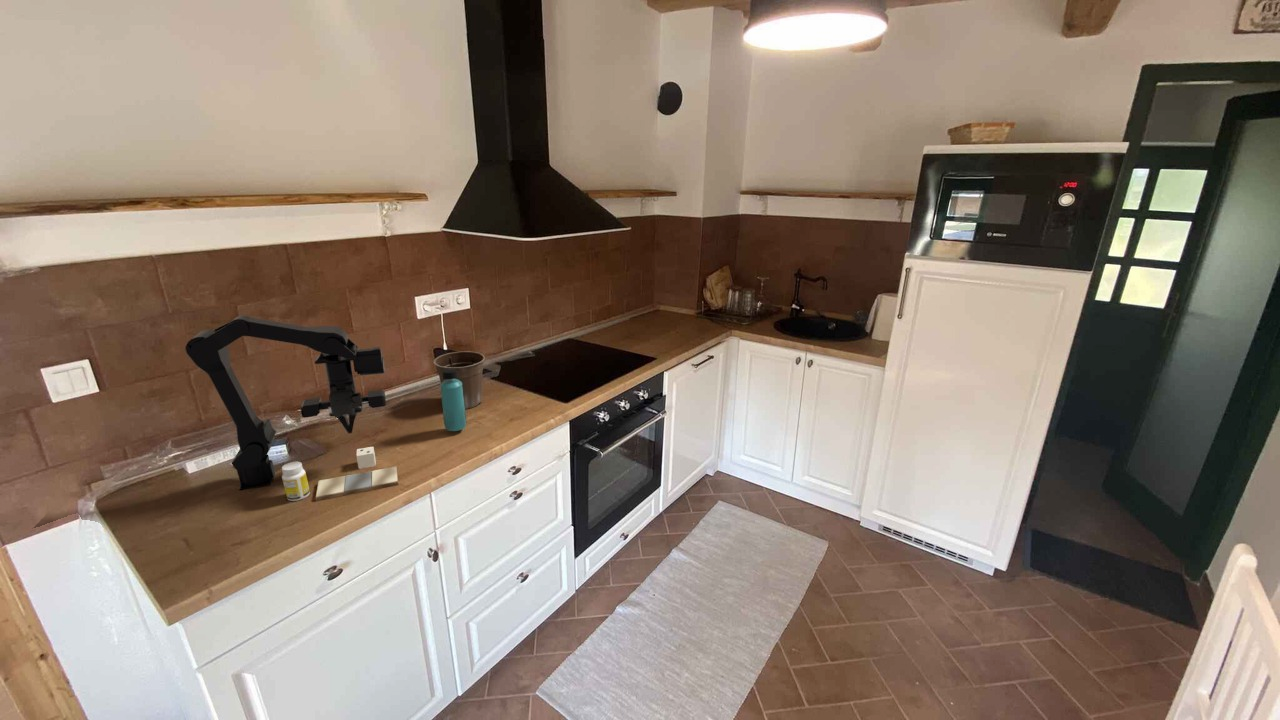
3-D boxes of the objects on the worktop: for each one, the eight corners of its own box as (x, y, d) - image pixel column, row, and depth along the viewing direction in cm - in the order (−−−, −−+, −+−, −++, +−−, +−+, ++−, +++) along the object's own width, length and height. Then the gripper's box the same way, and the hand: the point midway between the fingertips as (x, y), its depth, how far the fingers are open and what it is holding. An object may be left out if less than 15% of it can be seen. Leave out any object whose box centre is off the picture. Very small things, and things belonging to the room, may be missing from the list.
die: (358, 469, 139) (356, 455, 137) (359, 462, 142) (356, 449, 141) (375, 466, 140) (373, 453, 139) (375, 459, 144) (373, 446, 142)
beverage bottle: (471, 431, 161) (465, 370, 154) (451, 438, 156) (444, 375, 149) (460, 424, 165) (454, 364, 158) (440, 430, 160) (433, 369, 154)
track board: (316, 500, 125) (315, 497, 124) (319, 483, 131) (318, 480, 131) (398, 484, 132) (397, 481, 132) (397, 469, 139) (396, 465, 139)
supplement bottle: (305, 488, 130) (299, 458, 127) (313, 495, 127) (307, 465, 124) (283, 496, 126) (276, 465, 123) (291, 504, 123) (284, 473, 120)
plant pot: (448, 417, 169) (443, 370, 164) (431, 400, 181) (426, 356, 176) (495, 405, 179) (492, 360, 174) (476, 390, 191) (473, 348, 186)
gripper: (292, 394, 121) (305, 454, 126) (381, 383, 128) (390, 439, 134) (298, 378, 130) (310, 434, 135) (381, 368, 138) (389, 421, 143)
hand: (350, 432), depth 137 cm, fingers closed
